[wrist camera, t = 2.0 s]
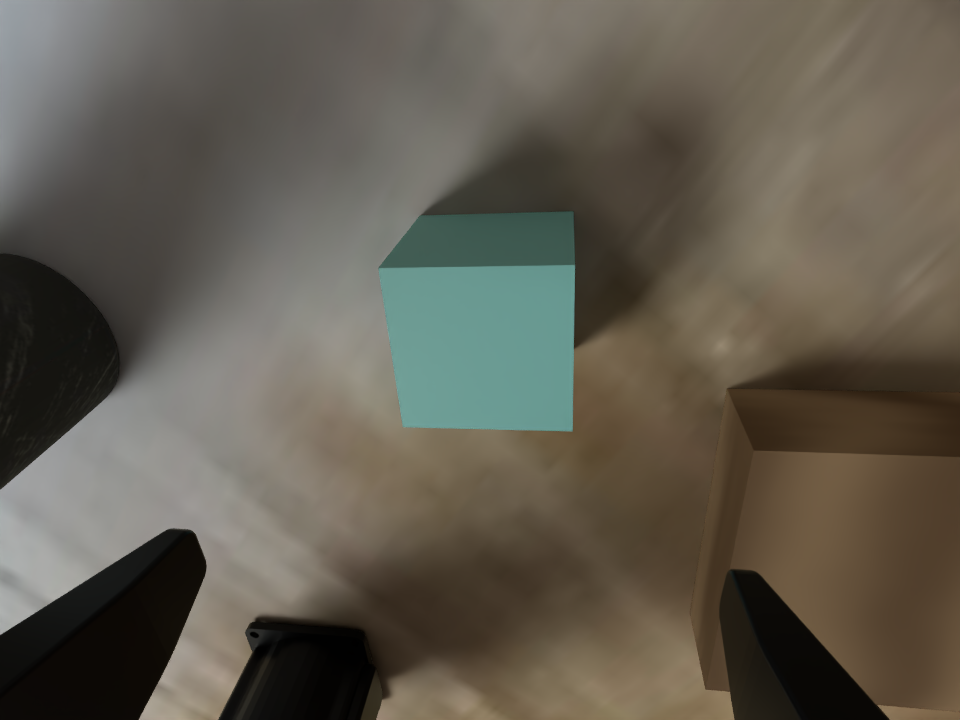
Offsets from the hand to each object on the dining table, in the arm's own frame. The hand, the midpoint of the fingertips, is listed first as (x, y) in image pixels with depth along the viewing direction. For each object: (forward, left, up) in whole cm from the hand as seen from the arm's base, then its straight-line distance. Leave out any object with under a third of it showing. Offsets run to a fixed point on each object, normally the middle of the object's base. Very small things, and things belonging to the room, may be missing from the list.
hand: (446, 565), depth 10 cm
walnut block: (+14, -10, -13) cm, 21 cm away
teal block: (0, 0, -12) cm, 12 cm away
